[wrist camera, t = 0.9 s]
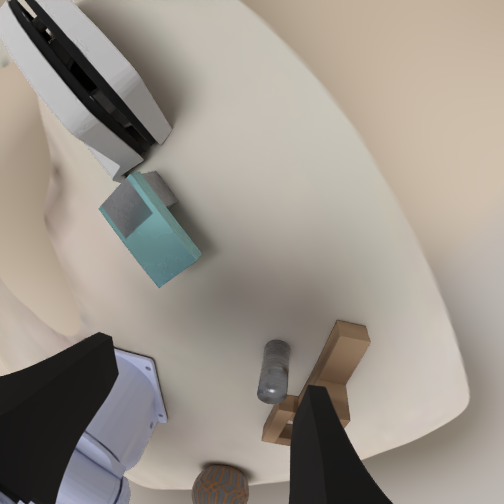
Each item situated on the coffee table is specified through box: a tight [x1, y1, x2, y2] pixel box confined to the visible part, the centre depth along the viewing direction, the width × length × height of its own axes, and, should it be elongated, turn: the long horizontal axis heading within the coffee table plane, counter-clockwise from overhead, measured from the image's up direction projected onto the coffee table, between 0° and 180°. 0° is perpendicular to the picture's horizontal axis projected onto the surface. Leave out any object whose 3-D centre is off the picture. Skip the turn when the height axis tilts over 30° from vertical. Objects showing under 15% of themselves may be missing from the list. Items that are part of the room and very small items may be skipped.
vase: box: [192, 465, 249, 504], centre depth 25 cm, size 7×7×9 cm
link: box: [262, 320, 371, 446], centre depth 19 cm, size 14×5×5 cm, turn 167°
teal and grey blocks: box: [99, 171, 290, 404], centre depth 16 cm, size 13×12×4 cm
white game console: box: [0, 0, 172, 183], centre depth 11 cm, size 17×5×10 cm, turn 40°
